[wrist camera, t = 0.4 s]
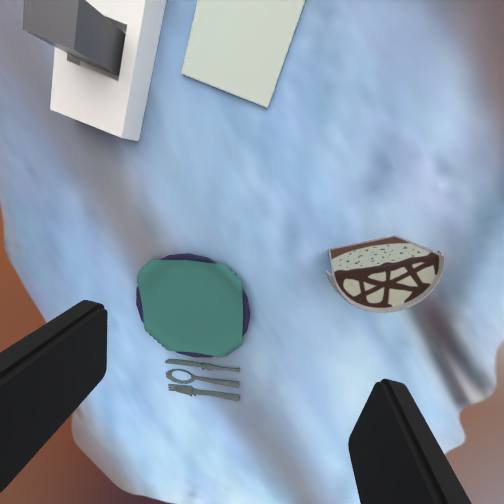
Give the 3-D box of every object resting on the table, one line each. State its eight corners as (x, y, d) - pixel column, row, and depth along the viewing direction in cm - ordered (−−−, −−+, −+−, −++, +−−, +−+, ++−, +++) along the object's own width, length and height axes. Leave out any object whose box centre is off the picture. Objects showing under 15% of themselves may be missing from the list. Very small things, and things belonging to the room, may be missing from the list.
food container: (325, 287, 39) (337, 324, 30) (318, 251, 38) (328, 277, 28) (410, 272, 37) (453, 307, 27) (406, 232, 35) (451, 255, 26)
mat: (214, -65, 28) (213, -69, 28) (314, -26, 28) (314, -29, 27) (182, 74, 33) (180, 73, 32) (267, 108, 33) (267, 107, 32)
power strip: (102, -135, 27) (65, -195, 23) (186, -102, 27) (166, -156, 23) (74, 115, 36) (44, 107, 32) (138, 141, 36) (117, 137, 32)
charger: (88, 21, 30) (23, -28, 23) (130, 38, 30) (79, -5, 23) (84, 62, 32) (21, 28, 24) (124, 78, 32) (73, 49, 24)
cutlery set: (252, 253, 39) (250, 258, 37) (250, 398, 49) (248, 408, 47) (134, 246, 42) (126, 250, 40) (154, 384, 52) (148, 394, 49)
